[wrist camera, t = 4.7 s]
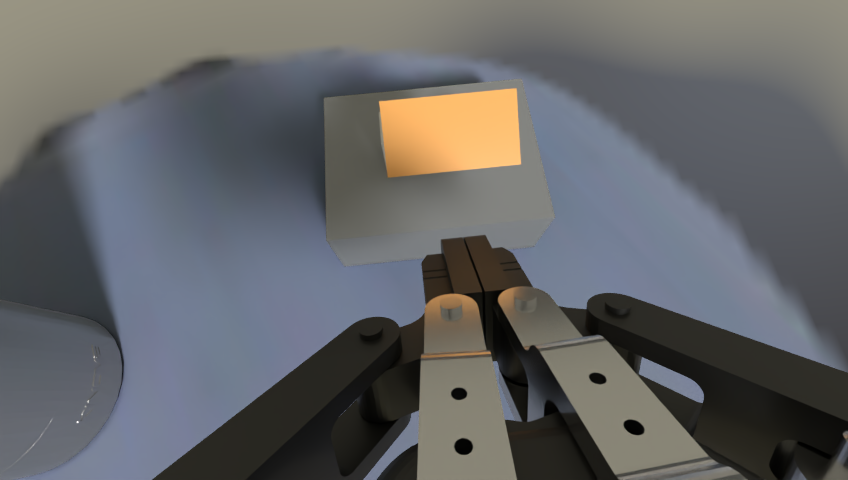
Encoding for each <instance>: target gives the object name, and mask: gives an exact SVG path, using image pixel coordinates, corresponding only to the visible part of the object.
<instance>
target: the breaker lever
mask: <svg viewBox="0 0 848 480" xmlns="http://www.w3.org/2000/svg"><path fill="white" fill-rule="evenodd" d="M379 105H380V113H381V122H382V131H383V140H384V149H385V158H386V167H387V176H388V178H390V177H400V176H410V175H420V174H430V173H440V172H450V171H460V170H470V169H480V168H490V167H500V166H510V165H519V164H521V155H520V138H519V121H518V104H517V88H513V89H503V90H492V91H482V92H471V93H461V94H451V95H440V96H430V97H420V98H409V99H399V100H389V101H379Z"/></svg>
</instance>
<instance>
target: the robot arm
mask: <svg viewBox="0 0 848 480" xmlns="http://www.w3.org/2000/svg"><path fill="white" fill-rule="evenodd" d="M422 273H423V283H424V293H425V303H426V307H425V313H424V314H423V316H422V317H421V318H419V319H418V320H417V321H415V322H413V323H411V324H409V325H406V326H403V327H400V328H399V326H398V324H397V323H396V322H395V321H393V320H391V319H389V318H385V317H371V318H366V319H363V320H360V321H358V322H356V323H354V324H353V325H351V326H350V327H349V328H347V329H346V330H345V331H343V332H342V333H341V334H339V335H338V336H337V337H336V338H334V339H333V340H332V341H330V342H329V343H328V344H327V345H325V346H324V347H323V348H321V349H320V350H319V351H318V352H316V353H315V354H314V355H312V356H311V357H310V358H309V359H307V360H306V361H305V362H303V363H302V364H301V365H299V366H298V367H297V368H296V369H294V370H293V371H292V372H290V373H289V374H288V375H287V376H285V377H284V378H283V379H281V380H280V381H279V382H278V383H276V384H275V385H274V386H272V387H271V388H270V389H269V390H267V391H266V392H265V393H263V394H262V395H261V396H259V397H258V398H257V399H256V400H254V401H253V402H252V403H250V404H249V405H248V406H247V407H245V408H244V409H243V410H241V411H240V412H239V413H238V414H236V415H235V416H234V417H232V418H231V419H230V420H228V421H227V422H226V423H225V424H223V425H222V426H221V427H219V428H218V429H217V430H216V431H214V432H213V433H212V434H210V435H209V436H208V437H207V438H205V439H204V440H203V441H201V442H200V443H199V444H198V445H196V446H195V447H194V448H192V449H191V450H190V451H188V452H187V453H186V454H185V455H183V456H182V457H181V458H179V459H178V460H177V461H176V462H174V463H173V464H172V465H170V466H169V467H168V468H167V469H165V470H164V471H163V472H161V473H160V474H159V475H157V476H156V477H155V478H154V479H152V480H363V479H364V478H365V477H366V475H367V474H368V473H369V472H370V470H371V469H372V468H373V467H374V466H375V464H376V463H377V462H378V461H379V459H380V458H381V457H382V456H383V455H384V453H385V452H386V451H387V450H388V449H389V447H390V446H391V445H392V444H393V442H394V441H395V440H396V439H397V438H398V436H399V435H400V434H401V433H402V431H403V430H404V429H405V428H406V426H407V425H408V423H409V421H410V418H411V413H413V412H416V411H418V410H419V434H418V444H416V445H414V446H412V447H410V448H409V449H407V450H406V451H404V452H403V453H402V454H400V455H399V456H398V457H397V458H396V459H394V460H393V461H392V462H391V463H390V464H389V465H388V466H387V468H386V469H385V470H384V471H383V472H382V473H381V475H380V476H379V477H378V479H377V480H848V373H847V372H844V371H841V370H838V369H835V368H832V367H829V366H827V365H824V364H821V363H818V362H815V361H812V360H809V359H807V358H804V357H801V356H798V355H795V354H792V353H790V352H787V351H784V350H781V349H778V348H775V347H772V346H770V345H767V344H764V343H761V342H758V341H755V340H752V339H750V338H747V337H744V336H741V335H738V334H735V333H732V332H730V331H727V330H724V329H721V328H718V327H715V326H712V325H710V324H707V323H704V322H701V321H698V320H695V319H692V318H690V317H687V316H684V315H681V314H678V313H675V312H673V311H670V310H667V309H664V308H661V307H658V306H655V305H653V304H650V303H647V302H644V301H641V300H638V299H635V298H633V297H630V296H626V295H622V294H616V293H603V294H598V295H595V296H593V297H591V298H590V299H589V300H588V302H587V309H576V308H566V307H560V306H558V305H557V304H556V303H555V302H554V300H553V299H552V298H551V297H550V295H549V294H547V293H546V292H544V291H542V290H540V289H537V288H533V286H532V285H531V283H530V281H529V280H528V278H527V276H526V275H525V273H524V271H523V270H522V269H521V266H520V265H519V263H518V262H517V260H516V258H515V256H514V255H513V253H511V252H510V251H508V250H506V249H505V248H503V247H499V248H492V247H491V245H490V243H489V241H488V239H487V237H486V235H478V236H468V237H463V238H462V237H459V238H449V239H441V254H431V255H427V256H426V257H425V259H424V260H423V261H422ZM642 357H644V358H646V359H648V360H650V361H653V362H655V363H657V364H659V365H662V366H664V367H666V368H668V369H671V370H673V371H675V372H677V373H680V374H682V375H684V376H686V377H688V378H690V379H692V380H693V381H695V382H696V383H697V384H698V385H699V386H700V387H701V389H702V391H703V393H704V401H703V403H699V402H696V401H694V400H692V399H690V398H687V397H685V396H683V395H681V394H679V393H677V392H675V391H673V390H671V389H669V388H667V387H664V386H662V385H660V384H658V383H656V382H654V381H652V380H650V379H648V378H646V377H644V376H641V375H639V370H640V364H641V359H642ZM493 361H497V362H498V365H499V383H500V386H501V388H502V391H503V393H504V395H505V398H506V400H507V403H508V405H509V407H510V410H511V412H512V414H513V417H514V419H515V421H512V420H505V419H504V414H503V409H502V404H501V400H500V395H499V390H498V385H497V380H496V375H495V370H494V366H493ZM121 380H122V362H121V355H120V351H119V348H118V346H117V344H116V342H115V339H114V338H113V337H112V335H111V334H110V333H109V332H108V331H107V329H106V328H104V327H103V326H101V325H100V324H99V323H97V322H96V321H93V320H90V319H88V318H85V317H81V316H77V315H72V314H67V313H62V312H57V311H53V310H48V309H43V308H38V307H33V306H29V305H25V304H20V303H16V302H11V301H6V300H1V299H0V480H14V479H19V478H24V477H28V476H33V475H36V474H40V473H43V472H46V471H49V470H52V469H54V468H56V467H57V466H59V465H61V464H63V463H65V462H67V461H68V460H70V459H71V458H72V457H74V456H75V455H76V454H77V453H79V452H80V451H81V450H83V449H84V448H85V447H86V446H87V445H88V444H89V443H90V442H91V440H92V439H93V438H94V437H95V436H96V435H97V434H98V433H99V431H100V430H101V428H102V427H103V425H104V424H105V422H106V421H107V419H108V418H109V416H110V414H111V412H112V409H113V407H114V405H115V403H116V401H117V398H118V394H119V390H120V386H121ZM356 399H357V400H356ZM355 400H356V401H355ZM354 401H355V402H354ZM353 402H354V403H353ZM352 403H353V404H352ZM351 404H352V405H351ZM350 405H351V406H350ZM349 406H350V407H349ZM348 407H349V408H348ZM347 408H348V409H347ZM346 409H347V410H346ZM345 410H346V411H345ZM344 411H345V412H344ZM343 412H344V413H343ZM342 413H343V414H342ZM341 414H342V415H341ZM340 415H341V416H340Z"/></svg>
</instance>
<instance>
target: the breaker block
mask: <svg viewBox="0 0 848 480" xmlns="http://www.w3.org/2000/svg"><path fill="white" fill-rule="evenodd" d="M513 88H517V104H518V121H519V138H520V155H521V164H519V165H510V166H500V167H490V168H480V169H470V170H460V171H450V172H440V173H430V174H420V175H410V176H400V177H390V178H388V176H387V167H386V158H385V149H384V140H383V131H382V122H381V113H380V105H379V101H389V100H399V99H409V98H420V97H430V96H440V95H451V94H461V93H471V92H482V91H492V90H503V89H513ZM324 134H325V190H326V241H327V242H328V244H329V245H330V247H331V248H332V249H333V251H334V252H335V254H336V255H337V256H338V258H339V259H340V261H341V262H342V264H343V265H344V266H345V267H346V266H355V265H365V264H374V263H384V262H394V261H403V260H413V259H422V258H425V257H426V256H427V255H431V254H441V239H449V238H459V237H462V238H463V237H468V236H478V235H486V237H487V239H488V241H489V243H490V245H491V247H492V248H499V247H503V248H505V249H506V250H508V249H518V248H527V247H534V246H535V245H536V243H537V242H538V240H539V239H540V238H541V236H542V235H543V233H544V232H545V231H546V229H547V228H548V226H549V225H550V224H551V222H552V221H553V219H554V218H555V215H554V210H553V206H552V202H551V198H550V194H549V190H548V186H547V182H546V177H545V173H544V169H543V165H542V161H541V157H540V153H539V148H538V144H537V140H536V136H535V132H534V128H533V124H532V120H531V115H530V111H529V107H528V103H527V99H526V95H525V91H524V87H523V82H522V79H513V80H503V81H493V82H482V83H472V84H461V85H451V86H441V87H430V88H420V89H409V90H399V91H389V92H378V93H368V94H357V95H347V96H336V97H326V98H324Z"/></svg>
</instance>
